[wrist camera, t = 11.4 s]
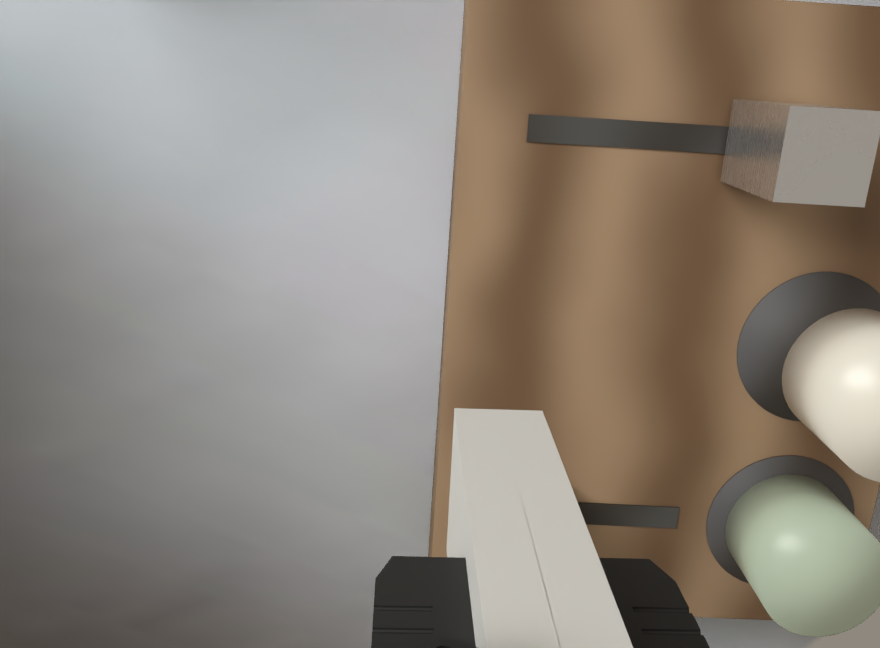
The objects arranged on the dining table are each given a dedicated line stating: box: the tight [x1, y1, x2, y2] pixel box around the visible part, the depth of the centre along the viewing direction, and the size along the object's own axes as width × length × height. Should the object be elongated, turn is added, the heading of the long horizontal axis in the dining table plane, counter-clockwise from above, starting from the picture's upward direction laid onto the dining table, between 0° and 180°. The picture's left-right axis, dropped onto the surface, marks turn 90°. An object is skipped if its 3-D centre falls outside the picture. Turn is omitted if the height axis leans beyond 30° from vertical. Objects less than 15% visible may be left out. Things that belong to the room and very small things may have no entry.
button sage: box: [725, 475, 880, 637], centre depth 34 cm, size 5×5×4 cm
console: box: [428, 0, 880, 620], centre depth 36 cm, size 19×26×4 cm
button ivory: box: [782, 308, 880, 482], centre depth 29 cm, size 5×5×4 cm
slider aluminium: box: [720, 99, 880, 207], centre depth 29 cm, size 3×3×5 cm
